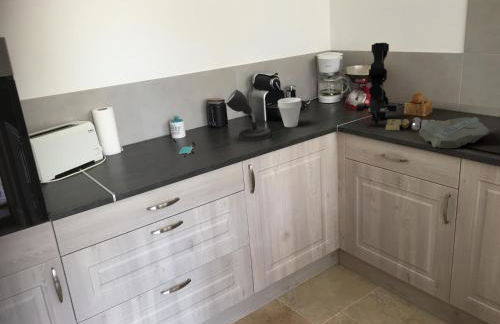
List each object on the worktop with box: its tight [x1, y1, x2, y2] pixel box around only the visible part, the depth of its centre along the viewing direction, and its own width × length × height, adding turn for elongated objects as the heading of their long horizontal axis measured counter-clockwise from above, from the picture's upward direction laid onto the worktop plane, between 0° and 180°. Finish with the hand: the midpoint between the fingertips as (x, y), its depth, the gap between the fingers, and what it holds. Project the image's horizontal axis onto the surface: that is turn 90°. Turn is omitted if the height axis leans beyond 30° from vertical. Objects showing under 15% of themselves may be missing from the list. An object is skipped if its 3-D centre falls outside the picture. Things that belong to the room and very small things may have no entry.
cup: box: [277, 97, 302, 128], centre depth 225 cm, size 12×12×14 cm
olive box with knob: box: [385, 118, 410, 131], centre depth 206 cm, size 10×11×4 cm
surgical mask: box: [173, 139, 196, 158], centre depth 200 cm, size 21×4×10 cm
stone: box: [418, 116, 491, 149], centre depth 180 cm, size 28×8×20 cm
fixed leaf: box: [411, 117, 436, 132], centre depth 202 cm, size 10×11×4 cm
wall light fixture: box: [225, 89, 272, 142], centre depth 209 cm, size 16×25×20 cm
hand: (376, 124), depth 210 cm, fingers closed
